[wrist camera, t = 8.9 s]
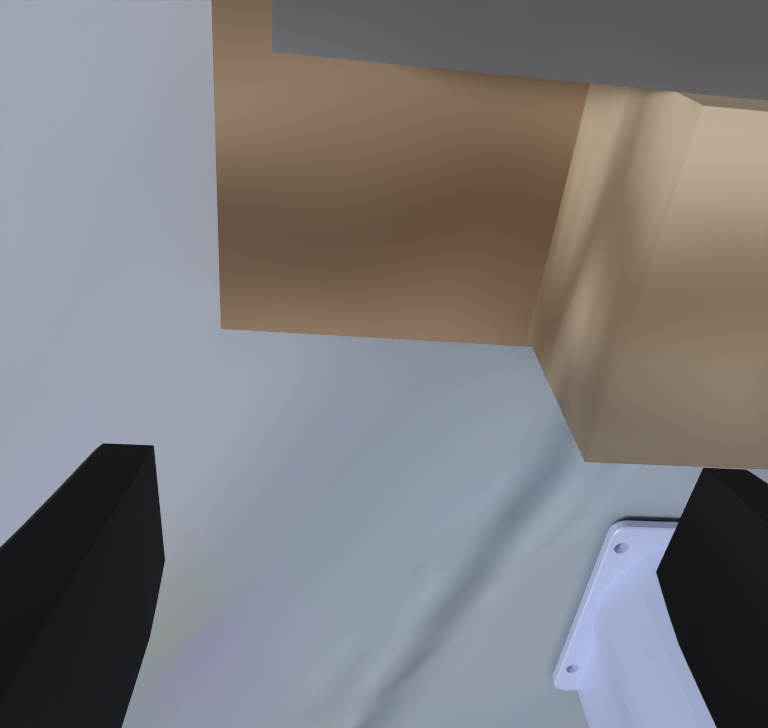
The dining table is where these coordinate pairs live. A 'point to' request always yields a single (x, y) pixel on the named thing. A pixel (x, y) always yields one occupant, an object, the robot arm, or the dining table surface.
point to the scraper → (624, 202)
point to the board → (382, 190)
